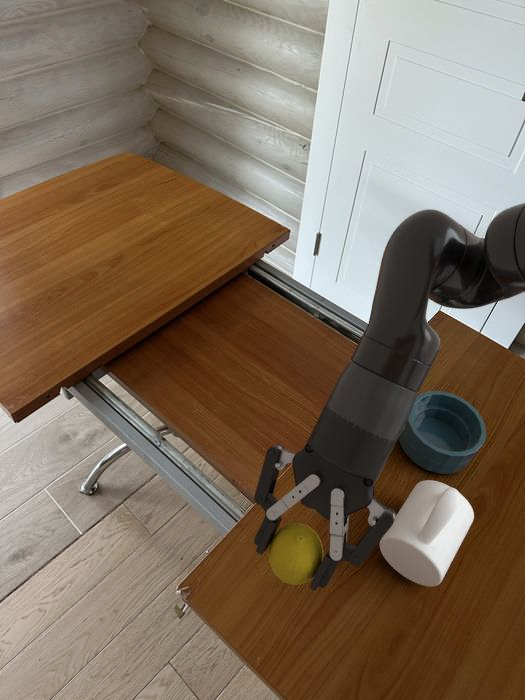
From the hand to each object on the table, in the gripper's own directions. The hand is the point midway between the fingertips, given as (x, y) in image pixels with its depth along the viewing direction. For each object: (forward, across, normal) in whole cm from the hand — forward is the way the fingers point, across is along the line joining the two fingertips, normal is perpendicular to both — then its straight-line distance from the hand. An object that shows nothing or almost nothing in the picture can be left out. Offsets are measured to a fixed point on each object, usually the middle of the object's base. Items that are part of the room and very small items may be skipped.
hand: (287, 567), depth 51 cm
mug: (-2, +12, +24) cm, 27 cm away
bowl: (-14, +8, +35) cm, 39 cm away
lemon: (+2, 0, +4) cm, 5 cm away
